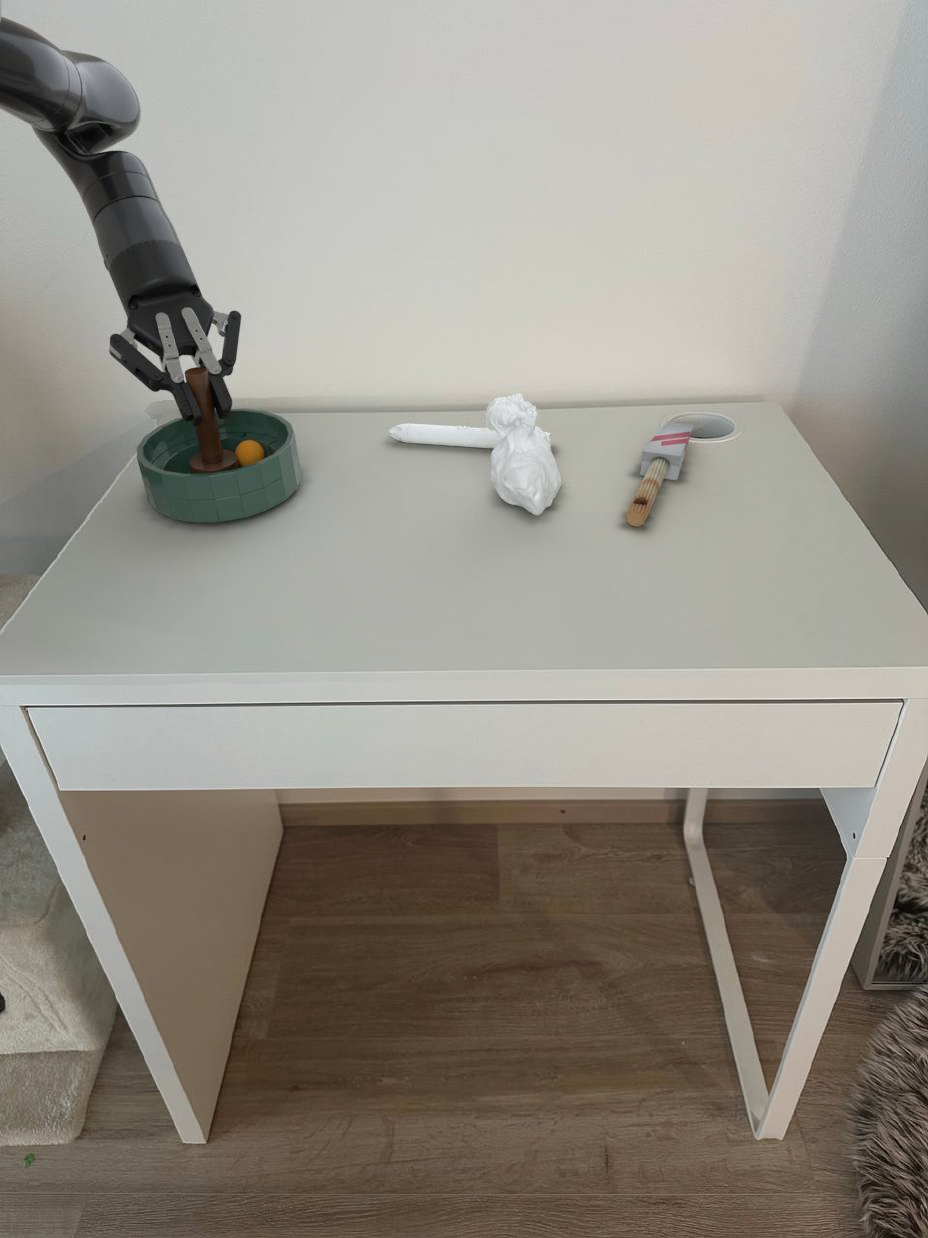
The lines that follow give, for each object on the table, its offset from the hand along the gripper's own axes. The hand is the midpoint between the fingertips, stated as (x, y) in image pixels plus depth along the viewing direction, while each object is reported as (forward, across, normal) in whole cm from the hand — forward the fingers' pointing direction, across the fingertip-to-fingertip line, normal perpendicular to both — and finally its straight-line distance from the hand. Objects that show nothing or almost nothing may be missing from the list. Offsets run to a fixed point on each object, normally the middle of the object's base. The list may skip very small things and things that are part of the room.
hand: (211, 418), depth 91 cm
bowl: (+5, 0, +6) cm, 8 cm away
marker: (+10, +25, +1) cm, 27 cm away
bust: (+19, +24, -8) cm, 31 cm away
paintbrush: (+22, +37, -12) cm, 44 cm away
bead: (+3, +4, +6) cm, 7 cm away
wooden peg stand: (+3, 0, +6) cm, 7 cm away
